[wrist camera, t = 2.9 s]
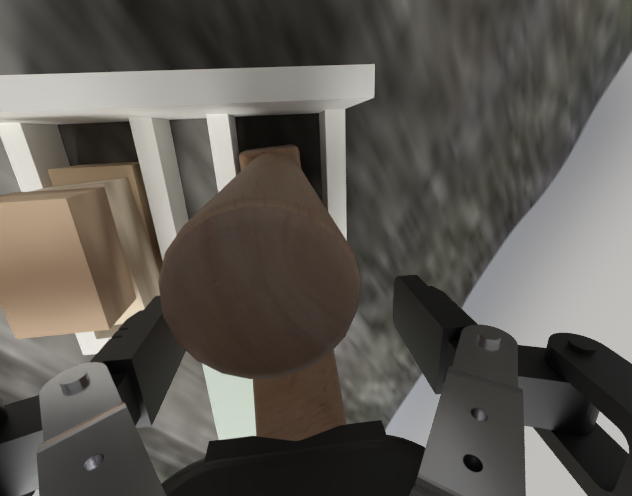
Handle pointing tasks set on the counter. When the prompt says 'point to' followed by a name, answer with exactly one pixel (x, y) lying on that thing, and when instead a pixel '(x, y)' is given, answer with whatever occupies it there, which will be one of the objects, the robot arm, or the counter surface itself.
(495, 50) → the counter surface
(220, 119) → the offcut rack
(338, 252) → the wooden block
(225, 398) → the sage mat
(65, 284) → the offcut stack
